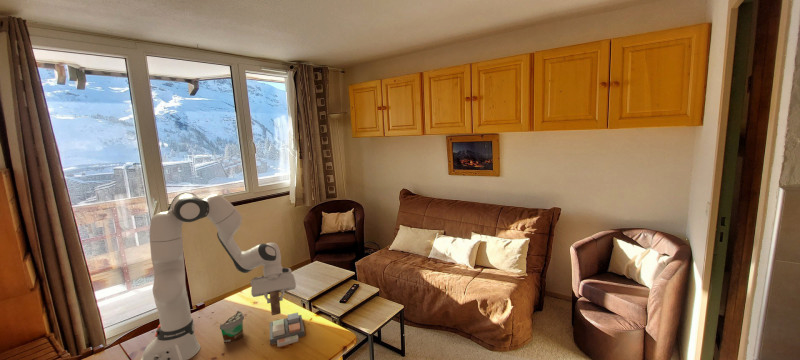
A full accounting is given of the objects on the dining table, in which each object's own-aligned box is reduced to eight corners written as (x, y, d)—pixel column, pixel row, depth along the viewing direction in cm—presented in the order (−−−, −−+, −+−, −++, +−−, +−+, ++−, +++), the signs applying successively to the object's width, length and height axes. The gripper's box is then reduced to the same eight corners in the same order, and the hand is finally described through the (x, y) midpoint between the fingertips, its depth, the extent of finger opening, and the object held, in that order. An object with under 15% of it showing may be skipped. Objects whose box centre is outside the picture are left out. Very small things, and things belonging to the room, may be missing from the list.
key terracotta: (289, 335, 150) (289, 330, 150) (289, 330, 155) (288, 325, 155) (300, 332, 152) (300, 328, 152) (299, 327, 157) (299, 322, 156)
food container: (233, 346, 146) (231, 326, 145) (222, 345, 147) (219, 325, 146) (251, 330, 158) (249, 311, 157) (240, 329, 159) (237, 310, 158)
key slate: (288, 324, 157) (288, 320, 156) (288, 319, 161) (287, 314, 161) (299, 322, 158) (298, 317, 158) (298, 316, 163) (297, 312, 163)
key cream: (273, 337, 148) (272, 332, 147) (273, 331, 152) (272, 326, 152) (284, 334, 149) (284, 329, 149) (284, 328, 154) (283, 323, 154)
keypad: (270, 348, 143) (269, 343, 143) (270, 327, 160) (269, 322, 159) (305, 339, 149) (304, 334, 148) (301, 319, 165) (301, 314, 165)
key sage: (273, 331, 154) (272, 326, 154) (273, 326, 159) (272, 321, 158) (284, 328, 156) (283, 324, 156) (284, 323, 161) (283, 318, 160)
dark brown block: (271, 315, 153) (269, 295, 152) (271, 311, 157) (269, 292, 156) (280, 313, 155) (278, 293, 154) (280, 309, 159) (278, 290, 157)
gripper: (249, 275, 156) (250, 304, 148) (294, 268, 164) (297, 294, 156) (251, 280, 161) (251, 308, 153) (294, 273, 168) (297, 299, 161)
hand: (275, 301), depth 155 cm, fingers closed on dark brown block, 4 cm apart
